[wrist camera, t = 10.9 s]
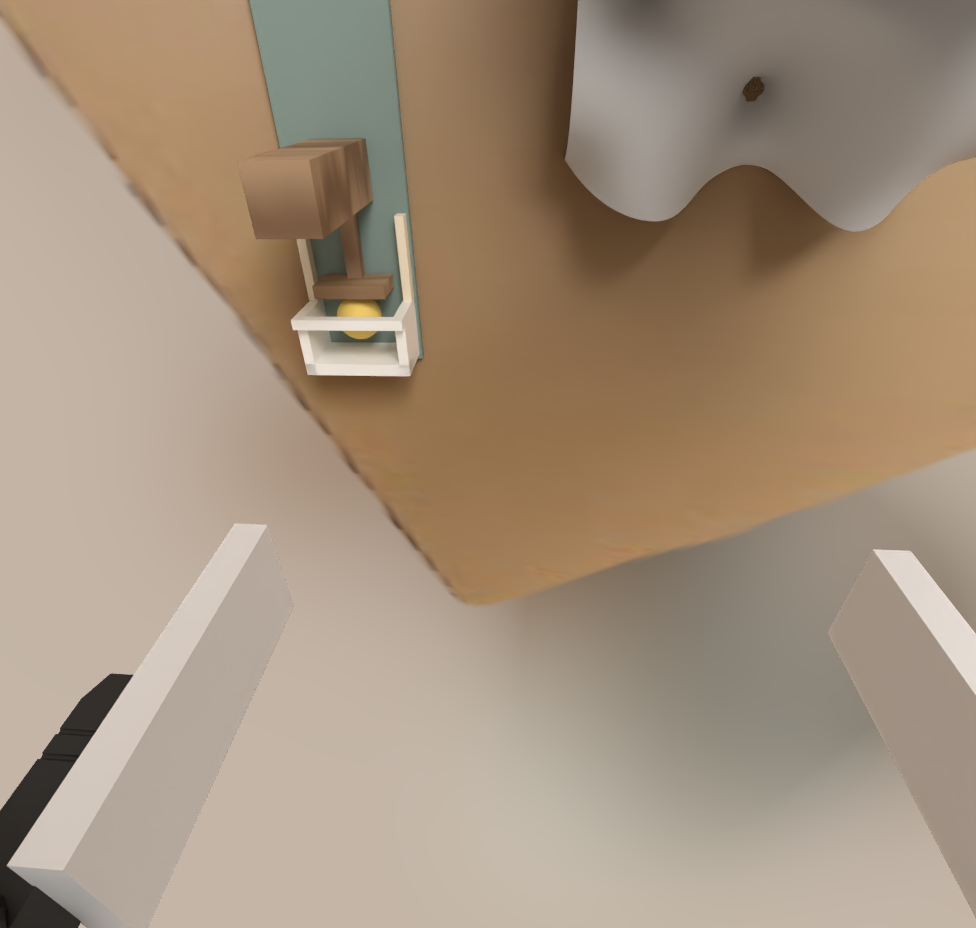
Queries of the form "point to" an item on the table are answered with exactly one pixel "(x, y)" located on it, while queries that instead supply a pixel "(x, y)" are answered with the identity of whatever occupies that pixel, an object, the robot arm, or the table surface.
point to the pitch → (344, 128)
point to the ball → (359, 314)
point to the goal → (357, 355)
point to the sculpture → (771, 99)
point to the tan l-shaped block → (316, 205)
